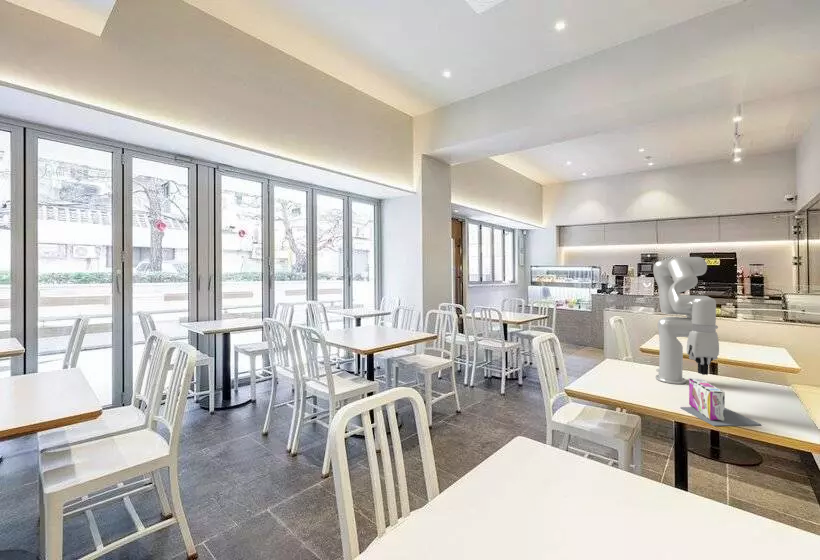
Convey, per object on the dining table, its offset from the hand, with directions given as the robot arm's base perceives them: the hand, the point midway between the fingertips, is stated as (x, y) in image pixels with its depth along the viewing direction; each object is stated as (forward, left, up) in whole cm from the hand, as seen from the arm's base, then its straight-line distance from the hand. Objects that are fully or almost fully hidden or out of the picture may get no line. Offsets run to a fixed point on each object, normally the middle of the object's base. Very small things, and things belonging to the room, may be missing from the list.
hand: (702, 373), depth 152 cm
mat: (+8, 0, -14) cm, 16 cm away
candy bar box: (-3, -1, -8) cm, 9 cm away
